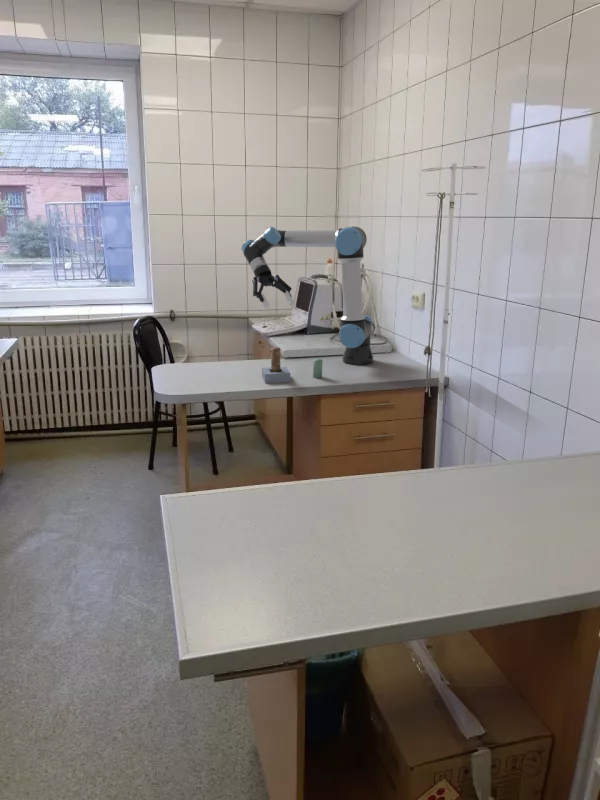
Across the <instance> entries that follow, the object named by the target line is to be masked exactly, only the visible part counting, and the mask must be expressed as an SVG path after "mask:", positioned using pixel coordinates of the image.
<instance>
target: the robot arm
mask: <svg viewBox="0 0 600 800" xmlns="http://www.w3.org/2000/svg"><path fill="white" fill-rule="evenodd" d="M366 245H367V235H366V232H365V231H364V229H362V228H361V227H359V226H346V227H343V228H340V227H339V228H338V229H337V230H280V229H277V228H275V227H273V226H270V227H268V228H267V229H266V230H265V231H264V232H263V233H262V234H261V235H259V236H258V237H257V238H256V239H255V240H253V239H248V240H247V241H244V242H243V243H242V245H241V251H242V253H243V256H244V257H245V259H246V261H247V263H248V265H249V267H250V269H251V270H252V273H253V274H254V277H253V278H252V280H251V281H252V284H253V286H252V297H256V298H257V299H259V301H260V303H262V305H263V306H264V308H265V310H266V309H268V308H269V306H270V304H269V301H268V300H267V298H266V296H265V294H264V293H262V292H263V289H264V287H272V288H276V289H278V290H279V291H280V292H282V293H283V295H284V297H285V299H286V301H287V303H288V306H293V304H294V300H293V296H292V294H291V291H292V289H293V288H292V287H291V286H290V285H289V284H288V283H286V281H284V280H283V279H282V278H281V277H280V275H279V274H276V275H275V276H273V275H272V274H273V273H272V270H271V269H270V267H269V264H268V263H267V260H265V257H264V255H265V254H266V253H267V252H268V251H270V250H271V249H272V248H273V249H274V248H276V247H277V248H282V247H283V248H284V247H288V248H289V247H290V248H335V249H336V250H337V259H338V261H340V263H341V286H342V289H341V291H342V308H343V309H342V311H343V315H342V316H341V317H340V320H339V321H340V328H339V332H338V338H339V339H338V340H339V341H340V343H341V344H342V345H343V346H344V347H345V349H344V352H343V355H342V362H343V363H345V364H348V365H354V366H356V365H357V366H361V365H363V366H365V365H370V364H373V362H374V355H373V351H372V348H371V338H372V337H371V336H372V335H371V333H372V323H373V322H372V316H370V315H364V314H363V308H362V306H363V305H362V304H363V303H362V301H363V300H362V275H361V273H362V272H361V270H362V269H361V261H362V260H363V259H364V256H365V255H364V248H365V246H366ZM258 284H260V286H259V288H258Z"/></svg>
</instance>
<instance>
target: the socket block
mask: <svg viewBox="0 0 600 800" xmlns="http://www.w3.org/2000/svg"><path fill="white" fill-rule="evenodd" d="M261 377H262V379H263V381H264V383H265V384H274V383H277V384H279V383H291V372H290V371H289V369H288V367H287V366H280V372H271V367H261Z"/></svg>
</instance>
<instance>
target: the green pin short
mask: <svg viewBox="0 0 600 800" xmlns="http://www.w3.org/2000/svg"><path fill="white" fill-rule="evenodd" d="M312 365H313V367H312V369H313V370H312V371H313V372H312V376H313V377H312V379H322V378H323V359H322V358H314V359H313V364H312Z"/></svg>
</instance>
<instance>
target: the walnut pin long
mask: <svg viewBox="0 0 600 800" xmlns="http://www.w3.org/2000/svg"><path fill="white" fill-rule="evenodd" d="M270 355H271V356H270V357H271V360H270V363H271V364H270V368H271V372H280V367H281V347H277V346H274V347H271V348H270Z"/></svg>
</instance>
